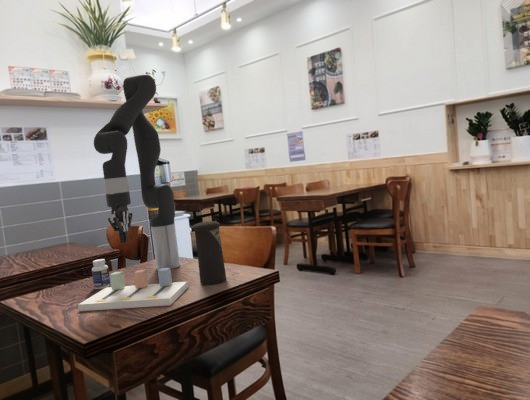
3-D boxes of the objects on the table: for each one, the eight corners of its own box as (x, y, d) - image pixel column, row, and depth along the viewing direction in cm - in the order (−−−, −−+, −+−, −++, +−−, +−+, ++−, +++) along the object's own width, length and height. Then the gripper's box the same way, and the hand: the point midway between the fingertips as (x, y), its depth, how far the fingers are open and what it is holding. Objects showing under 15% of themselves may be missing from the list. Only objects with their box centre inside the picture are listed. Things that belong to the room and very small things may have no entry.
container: (229, 281, 132) (222, 220, 130) (202, 287, 129) (195, 225, 127) (222, 275, 140) (215, 218, 138) (197, 281, 137) (189, 222, 135)
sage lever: (116, 287, 132) (114, 272, 132) (125, 286, 132) (123, 271, 131) (111, 290, 129) (109, 274, 129) (120, 289, 129) (118, 274, 128)
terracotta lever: (139, 285, 131) (137, 270, 131) (148, 284, 131) (146, 269, 130) (135, 288, 128) (133, 272, 128) (144, 287, 128) (142, 272, 127)
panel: (106, 293, 134) (106, 287, 134) (188, 287, 131) (187, 281, 130) (79, 311, 119) (78, 304, 118) (170, 305, 115) (169, 297, 115)
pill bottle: (105, 289, 140) (100, 261, 139) (91, 290, 141) (87, 262, 140) (113, 284, 145) (109, 257, 144) (100, 285, 146) (96, 258, 145)
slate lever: (163, 283, 130) (161, 268, 129) (172, 282, 129) (170, 267, 129) (159, 286, 127) (157, 270, 126) (168, 285, 127) (166, 270, 126)
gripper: (116, 191, 143) (123, 239, 144) (96, 194, 130) (103, 247, 131) (136, 189, 142) (143, 238, 143) (118, 192, 129) (125, 245, 130)
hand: (124, 242), depth 137 cm, fingers closed
